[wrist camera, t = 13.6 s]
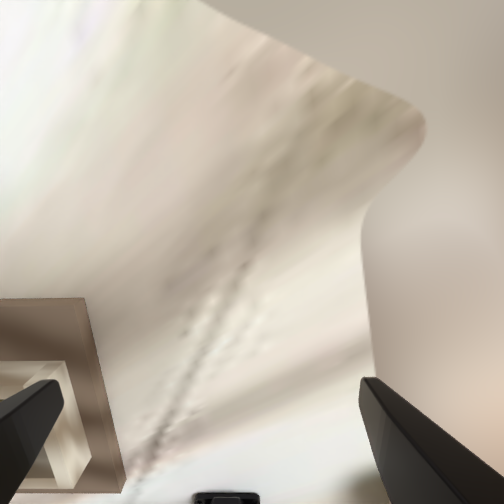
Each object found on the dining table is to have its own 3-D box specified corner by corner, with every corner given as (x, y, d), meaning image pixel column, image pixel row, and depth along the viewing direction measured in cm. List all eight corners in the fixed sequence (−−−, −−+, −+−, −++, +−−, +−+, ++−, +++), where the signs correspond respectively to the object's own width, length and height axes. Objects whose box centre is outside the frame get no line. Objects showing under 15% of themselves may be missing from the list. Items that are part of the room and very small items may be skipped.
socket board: (126, 479, 26) (106, 527, 23) (-12, 479, 27) (-53, 526, 23) (84, 298, 20) (47, 324, 17) (-93, 300, 21) (-165, 327, 17)
